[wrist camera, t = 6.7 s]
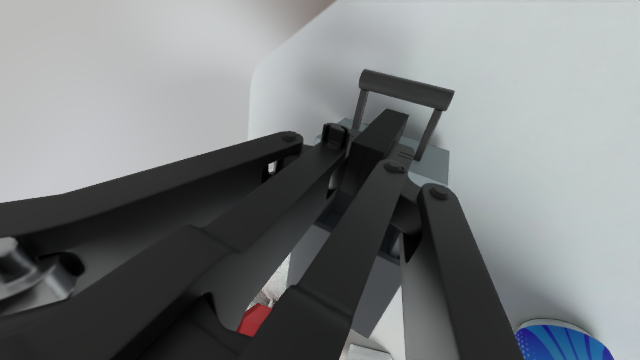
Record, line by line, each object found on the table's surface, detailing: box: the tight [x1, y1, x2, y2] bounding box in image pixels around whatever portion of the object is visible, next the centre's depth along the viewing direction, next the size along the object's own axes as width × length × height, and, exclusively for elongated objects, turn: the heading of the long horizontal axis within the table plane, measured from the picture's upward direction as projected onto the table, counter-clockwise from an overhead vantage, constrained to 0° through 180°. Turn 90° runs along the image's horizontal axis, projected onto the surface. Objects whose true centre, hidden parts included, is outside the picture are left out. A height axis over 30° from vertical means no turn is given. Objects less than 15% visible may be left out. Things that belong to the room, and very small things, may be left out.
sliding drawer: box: [315, 69, 455, 259], centre depth 24 cm, size 20×11×7 cm, turn 170°
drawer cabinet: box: [286, 220, 401, 338], centre depth 31 cm, size 15×13×9 cm
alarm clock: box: [236, 299, 274, 337], centre depth 50 cm, size 15×9×20 cm, turn 13°
